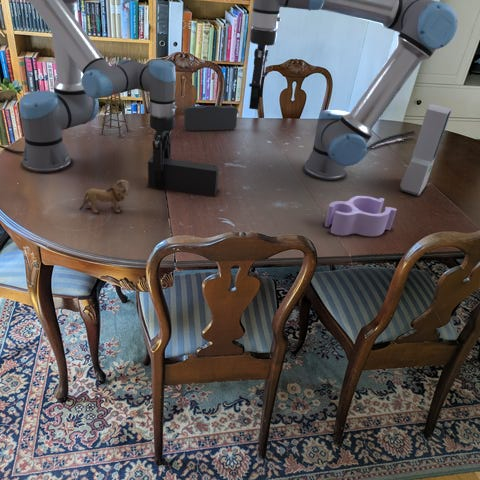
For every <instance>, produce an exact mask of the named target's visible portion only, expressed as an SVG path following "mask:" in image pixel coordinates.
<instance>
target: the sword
mask: <svg viewBox="0 0 480 480" xmlns="http://www.w3.org/2000/svg"><path fill="white" fill-rule="evenodd" d="M405 138H406V137H403V136H402V137H399V138H396V139H392V140H388V141H384V142H379V143H377V144H375V145H373V146H372V147H371V150H373V149H376V148H378V147H381V146H384V145H388V144H389V145H390V144H392V143H398V142H405V141H407V140H411V139H412V138H408V139H405ZM404 139H405V140H404Z"/></svg>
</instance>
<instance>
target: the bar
mask: <svg viewBox="0 0 480 480" xmlns="http://www.w3.org/2000/svg"><path fill="white" fill-rule="evenodd" d="M152 168H153V155H152V156H151V157H150V158H149V160H148V161H147V186H148V188H152V189H156V188H155V171H153V170H152ZM219 168H220V165H219V164H218V165H217V164H212V163H205V162H204V163H203V162H196V161H189V160H181V159H174V158H171V159H167V158H164V163H163V170H164V189H163V190H166V191H175V192H181V193H187V194H194V195H195V194H196V195H202V196H208V197H216V194H217V192H218V183H219V172H220V171H219Z"/></svg>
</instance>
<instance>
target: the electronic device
mask: <svg viewBox="0 0 480 480" xmlns="http://www.w3.org/2000/svg"><path fill="white" fill-rule="evenodd" d="M451 114H452V108H449V107H445V106H441V105H437V104H433V103H432V104H431V103H430V104H429V105H428V106H427V108H426V111H425V114H424V118H423V121H422V123H421V127H420V130H419V133H418V137H417V140H416V143H415V146H414V150H413V152H412V155H411V160H410V162H409V164H408V166H407V168H406V170H405V172H404V175H403V177H402V179H401V181H400V183H399V188H400V190H401V192H405V193H407V194H411V195H414V196H418V197H419V196H420V195H421V193H422V192H423V191H424V189H425V187H426V186H427V183H428V181H429V178H430V175H431V173H432V172H431V171H432V168H433V166H434V162H435V159H436V157H437V154H438V151H439V148H440V145H441V142H442V138H443V136H444V133H445V131H446V128H447V125H448V122H449V118H450V116H451Z"/></svg>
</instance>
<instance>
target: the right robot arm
mask: <svg viewBox="0 0 480 480" xmlns="http://www.w3.org/2000/svg"><path fill="white" fill-rule="evenodd" d="M252 5H253V6H252V11H251V13H252V14H251V22H250V23H251V24H250V26H251V27H252V28H251V29H250V35H249V41H250V43H251V44H254V45H257V48H255V50H254V52H253V56H254V57H253V71H252V77H251V78H252V79H251V83H249V84H248V87H250V97H249V110H256V111H257V110H259V109H260V108H259V107H260V106H259V105H260V98H263V93H264V85H265V77H267V76H268V72H267V71H266V67H267V61H268V56H269V53H270V51H269V49H268V47H269V46H274V45H276V42H277V36H278V31H277V29H278V26H279V25H278V24H279V22H281V21H282V20H281V17H280V9H281V8H285V9H286V8H287V9H289V8H290V9H298V10H306V11H319V10H321V11H325V12H330V13H333V14H339V15H342V16H347V17H351V18H356V19H359V20H364V21H368V22H373V23H376V24H381V25H382V28H384V29H388V30H391V31H394V32H396V33H398V35H397V37H396V38H397V39H396V40H397V45H396V47H395V49H394V50H393V51H392V53H390V55H389V57H388V58H387V59H386V61H385V63H384V64H383V66H382V67H381V68H380V69H379V71H378V73H377V74H376V76H375V77H374V78H373V80H372V81H371V83H369V85H368V87H367V88H366V90H365V91H364V92H363V95H361V97H360V98H359V100H358V102H357V103H356V104H355V106H354V107H353V108H352V110H351V111H350V112H348V111H343V110H337V109H323V110H321V111H320V112H319V115H318V118H317V125H316V129H315V136H314V142H313V146H312V151H311V152H310V155H309V157H308V159H307V160H306V161H305V163H304V169H303V170H304V172H305V173H306V174H307V175H309V176H310V177H312V178H315V179H317V180H322V181H339V180H342V179H343V178H344V177H345V176H346V170H347V168H346V167H351V166H355V165H356V164H358V163H359V162H361V161H362V160H364V157H366V154H367V151H368V150H370V149H371V148H372V147H373V146H374V145H377V144H380V143H382V142H383V141H384V142H385V141H387V140H389V139H393V138H396V137H400V136H403V135H404V136H405V135H408V134H412V133H414V132H415V130H414V131H411V130H410V131H411V132H408V131H406V132H407V133H404V132H400V133H397V134H396V133H395V134H392V135H389V136H386V137H383V138H381V139H378V140H376V141H374V142H372V143H371V144H369V145H368V142H369V141H370V139H371V138H372V137H373V127H374V126H375V125H376V123H377V122H378V121H379V119H380V118H381V116H382V115H383V114H384V112H385V111H386V110H387V108H388V107H389V106H390V104H391V103H392V101H393V100H394V99H395V97H396V96H397V95H398V93H399V92H400V91H401V89H402V88H403V86H404V85H405V84H406V82H407V81H408V80H409V78H410V77H411V76H412V74H413V73H414V71H416V69H417V67H418V66H419V65H420V64H421V62H422V61H425V60H429V59H430V58H431V57H432V56H433V54H434V53H435V51H436V50H439V49H441V48H444V47H446V46H447V45H448V44H449V43H451V41H452V40H453V39H454V37H455V35H456V33H457V30H458V25H459V24H458V15H457V12H456V11H455V9H454V8H453V7H452V6H450V5H448V4H447V3H445V2H443V1H437V0H253V4H252ZM402 133H403V134H402Z"/></svg>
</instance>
